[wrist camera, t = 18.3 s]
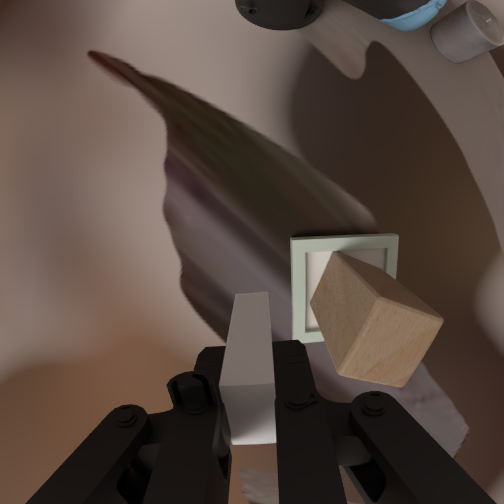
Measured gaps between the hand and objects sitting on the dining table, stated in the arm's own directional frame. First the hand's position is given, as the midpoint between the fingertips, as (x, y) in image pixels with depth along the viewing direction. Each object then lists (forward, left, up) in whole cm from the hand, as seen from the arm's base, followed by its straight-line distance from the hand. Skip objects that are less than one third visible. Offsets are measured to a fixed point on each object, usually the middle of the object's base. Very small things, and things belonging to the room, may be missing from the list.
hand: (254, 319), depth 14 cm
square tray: (+12, +14, -33) cm, 38 cm away
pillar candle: (-36, +41, -33) cm, 64 cm away
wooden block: (+11, +15, -32) cm, 37 cm away
